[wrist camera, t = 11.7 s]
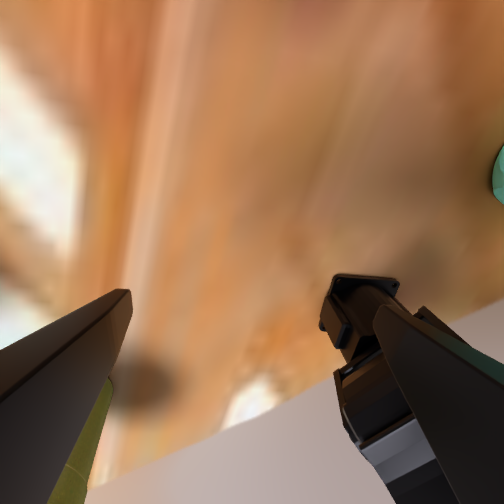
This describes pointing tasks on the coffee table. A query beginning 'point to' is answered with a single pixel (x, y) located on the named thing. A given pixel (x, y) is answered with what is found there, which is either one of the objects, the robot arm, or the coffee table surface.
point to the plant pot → (83, 454)
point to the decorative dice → (499, 177)
